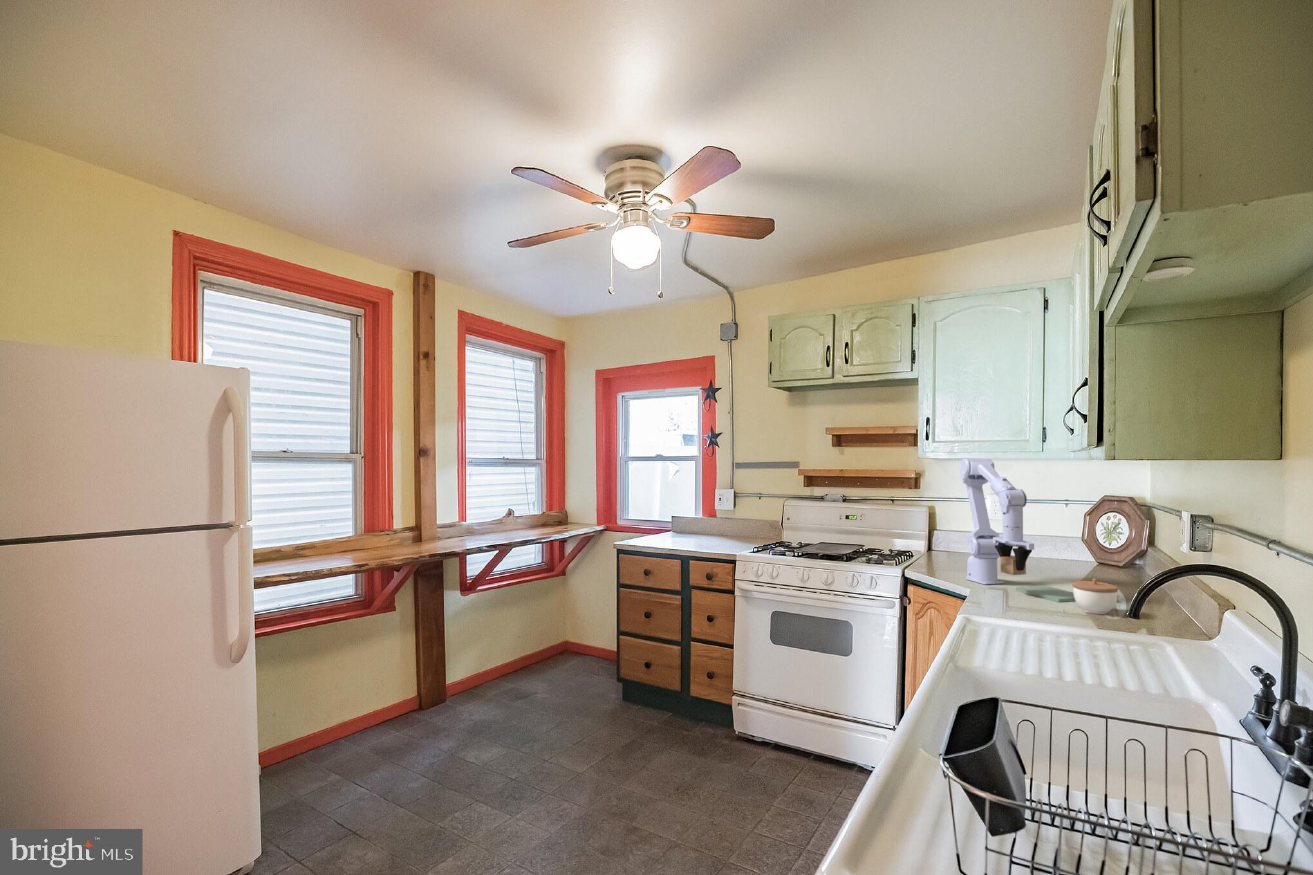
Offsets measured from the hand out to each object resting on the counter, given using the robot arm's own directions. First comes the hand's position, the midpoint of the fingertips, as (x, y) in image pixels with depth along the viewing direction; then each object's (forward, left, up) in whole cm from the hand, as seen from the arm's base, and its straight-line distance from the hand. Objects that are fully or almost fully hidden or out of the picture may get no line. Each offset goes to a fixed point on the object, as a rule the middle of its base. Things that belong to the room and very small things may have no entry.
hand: (1013, 568), depth 198 cm
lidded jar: (+23, +6, -8) cm, 25 cm away
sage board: (+4, +11, -8) cm, 14 cm away
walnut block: (0, 0, -2) cm, 2 cm away
